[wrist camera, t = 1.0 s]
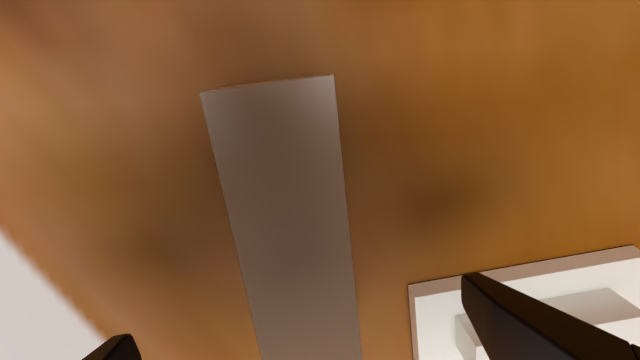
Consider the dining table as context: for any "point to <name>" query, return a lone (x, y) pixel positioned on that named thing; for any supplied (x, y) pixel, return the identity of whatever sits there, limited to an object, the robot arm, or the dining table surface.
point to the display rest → (540, 283)
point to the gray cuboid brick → (288, 213)
